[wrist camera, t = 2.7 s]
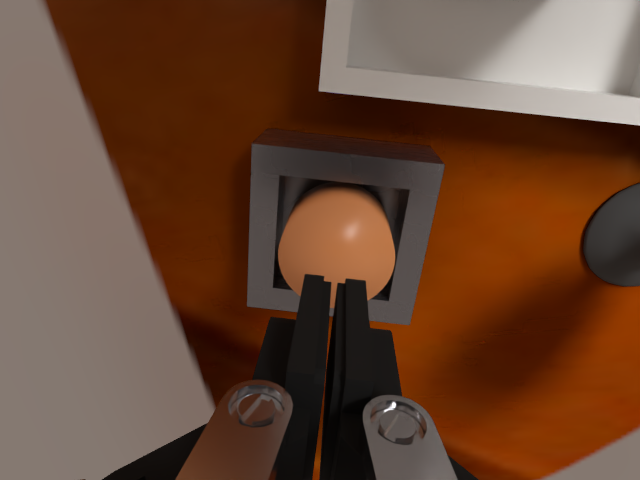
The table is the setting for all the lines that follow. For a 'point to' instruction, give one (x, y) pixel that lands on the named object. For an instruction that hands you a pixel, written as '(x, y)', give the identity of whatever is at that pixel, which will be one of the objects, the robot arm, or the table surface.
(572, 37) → the shallow white tray
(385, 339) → the robot arm
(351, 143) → the button housing
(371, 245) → the button cap
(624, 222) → the sundae
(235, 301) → the table surface
